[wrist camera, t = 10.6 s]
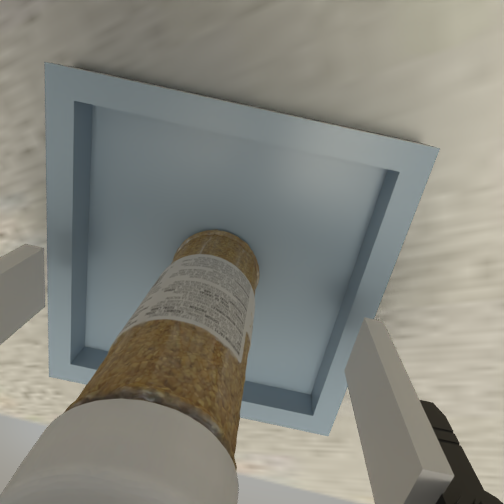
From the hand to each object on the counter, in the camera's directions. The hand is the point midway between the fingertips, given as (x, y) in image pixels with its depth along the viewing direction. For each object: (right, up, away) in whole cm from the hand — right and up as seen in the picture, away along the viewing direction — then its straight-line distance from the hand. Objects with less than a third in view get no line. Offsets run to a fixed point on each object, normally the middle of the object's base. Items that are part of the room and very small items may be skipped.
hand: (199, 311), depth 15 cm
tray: (0, +2, +5) cm, 5 cm away
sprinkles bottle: (0, +2, +4) cm, 5 cm away
